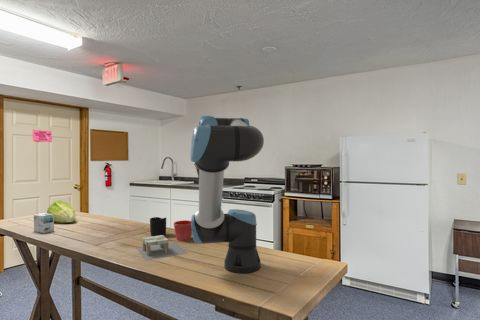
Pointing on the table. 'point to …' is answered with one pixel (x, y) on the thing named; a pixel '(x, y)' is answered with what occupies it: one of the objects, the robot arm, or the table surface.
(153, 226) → the pen holder
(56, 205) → the lettuce
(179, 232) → the flower pot
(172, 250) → the mat
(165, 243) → the stool
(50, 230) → the light bulb box
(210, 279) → the table surface
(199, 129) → the robot arm
